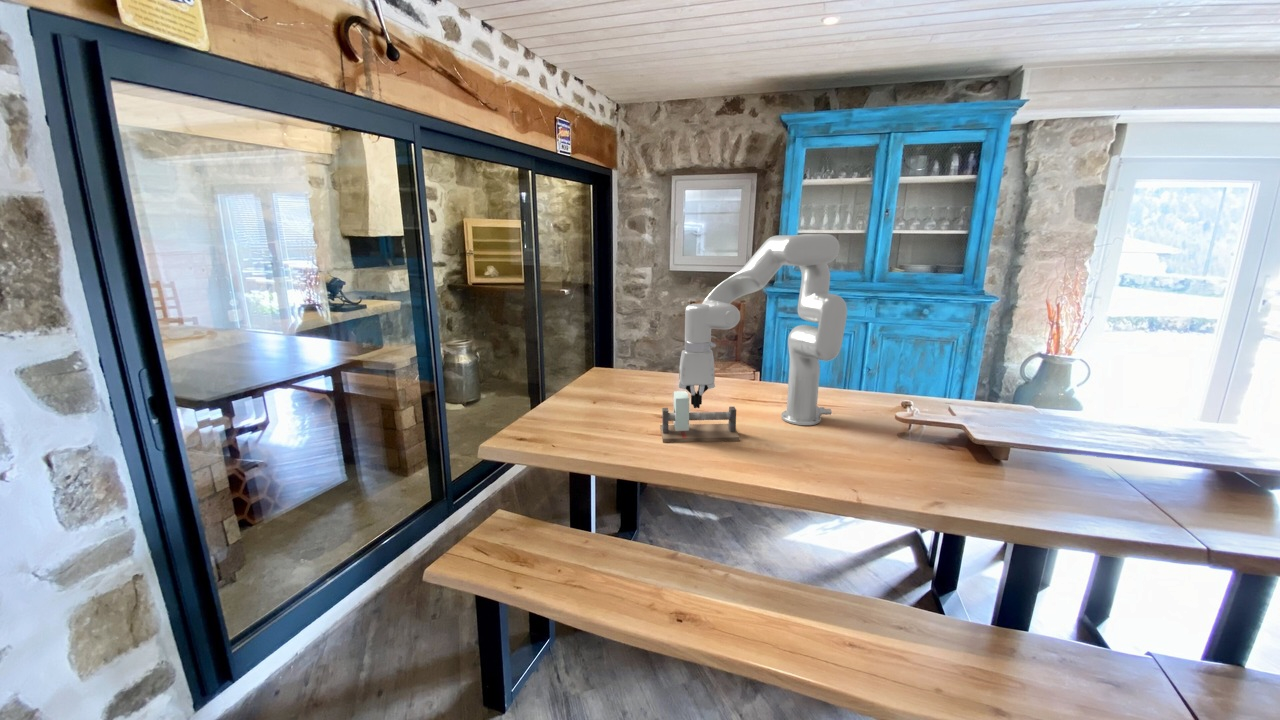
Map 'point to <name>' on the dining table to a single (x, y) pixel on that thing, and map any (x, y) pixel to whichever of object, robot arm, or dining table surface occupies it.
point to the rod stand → (701, 427)
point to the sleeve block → (681, 411)
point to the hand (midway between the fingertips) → (696, 406)
